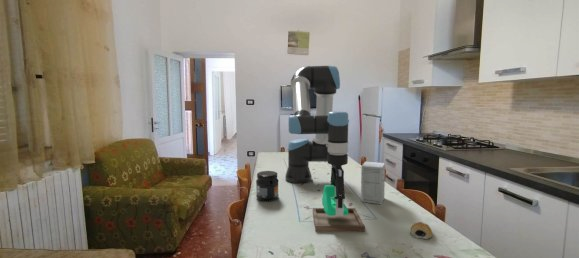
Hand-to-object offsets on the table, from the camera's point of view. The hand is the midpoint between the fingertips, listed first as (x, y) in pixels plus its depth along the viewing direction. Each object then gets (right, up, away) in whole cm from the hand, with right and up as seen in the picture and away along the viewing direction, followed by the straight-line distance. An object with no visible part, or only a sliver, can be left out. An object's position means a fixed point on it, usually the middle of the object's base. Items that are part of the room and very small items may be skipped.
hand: (336, 208), depth 108 cm
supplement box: (+20, -3, +23) cm, 31 cm away
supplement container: (-28, -3, +26) cm, 39 cm away
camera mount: (-1, -1, 0) cm, 1 cm away
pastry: (+28, -6, -9) cm, 30 cm away
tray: (0, -5, +1) cm, 5 cm away
